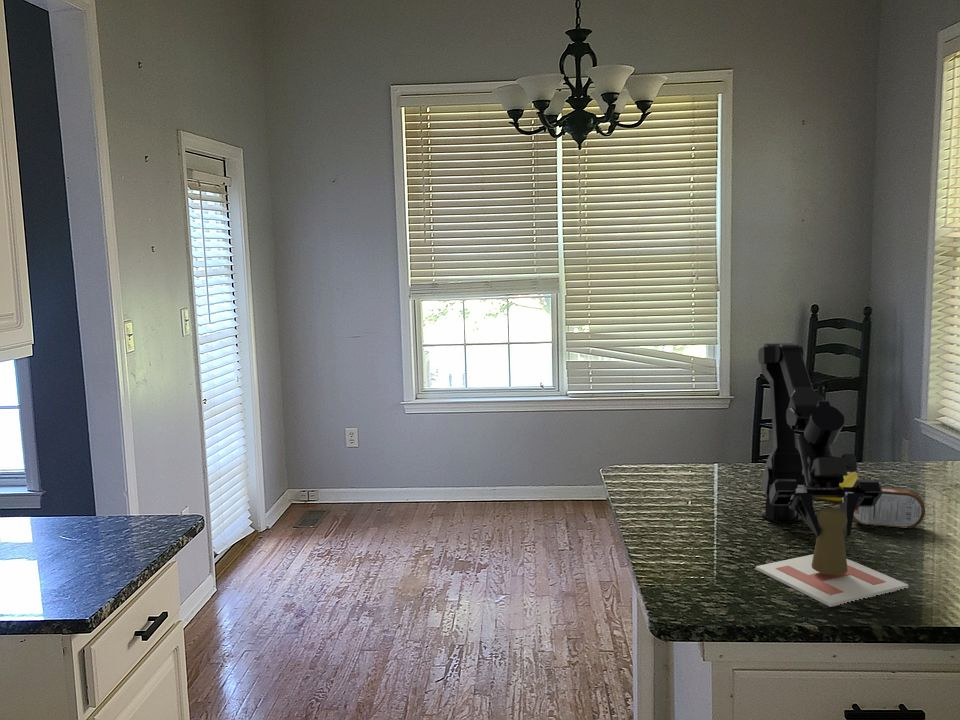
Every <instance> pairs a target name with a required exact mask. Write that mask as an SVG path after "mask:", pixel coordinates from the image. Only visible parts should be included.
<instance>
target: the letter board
mask: <svg viewBox="0 0 960 720" xmlns="http://www.w3.org/2000/svg"><path fill="white" fill-rule="evenodd" d="M813 555H814V553H813V554H808V555H804V556H803V555H802V556H799V557H793V558H789V559H785V560H784V559H783V560H779V561H775V562H770V563H766V564H760V565H755V570H756V571H758V572H760V573H763V574H764V575H766V576H768V577H770V578H772V579H774V580H776V581H778V582H780V583H782V584H783V585H785V586H788V587H790V588H791V589H794V590H796V591H798V592H800V593H802V594H804V595H806V596H807V597H810V598H811V599H814V600H816V601H817V602H820V603H821V604H824V605H825V606H828V607H830V608H831V607H836V606H840V604H841V605H845V604H848V603H847V602H849V603H852V602H851V601H853V602H856V601H855V600H857V601H860V600H859V599H861V600H864V599H863V598H865V599H869V598H872V597H877V596H876V595H878V596H881V594H882V595H885V593H886V594H888V593H889V592H890V593H893V592H897V590H898V591H901V590H900V589H902V590H905V589H904V588H906V589H909V584H908V583H905V582H903V581H900V580H898V579H896V578H893V577H891V576H889V575H886V574H884V573H882V572H879V571H877V570H874V569H872V568H870V567H868V566H865V565H862V564H860V563H858V562H856V561H853V560H851V559H848V558H846V560H847V570H848V571H847V572H846V573H844V574H840V575H831V574H825V573H821V572H818V571H816V570H814V569H813V568H812V560H813ZM868 597H869V598H868ZM844 603H845V604H844Z"/></svg>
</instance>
